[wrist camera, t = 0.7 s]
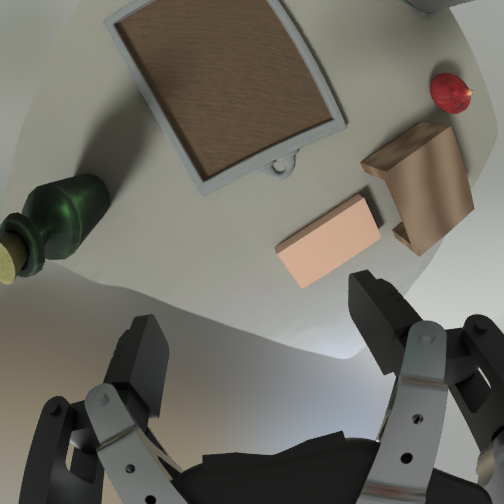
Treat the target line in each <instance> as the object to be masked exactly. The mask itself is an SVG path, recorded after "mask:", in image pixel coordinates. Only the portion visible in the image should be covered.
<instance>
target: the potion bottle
mask: <svg viewBox="0 0 504 504" xmlns="http://www.w3.org/2000/svg"><path fill="white" fill-rule="evenodd" d="M108 204H109V197H108V191H107V189H106V187H105V185H104V183H103V182H102V181H101V180H100V179H99V178H98V177H96V176H94V175H90V174H84V175H79V176H74V177H70V178H66V179H63V180H59V181H55V182H51V183H48V184H44V185H41V186H37V187H36V188H35V189H34V190H33V191H32V192H31V193H30V194H29V195H28V197H27V200H26V202H25V205H24V207H23V210H22V214H20V213H18V212H17V213H12V214H9V215H8V216H7V217H6V219H5V220H4V221H3V222H2V224H1V225H0V282H2V283H4V284H11V283H12V282H13V281H14V280H15V278H16V276H19V277H30V276H32V275H35V274H37V273H38V272H39V271H41V270H42V267H43V265H44V263H45V258H46V259H49V260H60V259H66V258H68V257H69V256H71V255H72V254H74V253H75V251H76V250H77V249H78V247H79V246H80V245H81V243H82V242H83V241H84V240H85V238H86V237H87V236H88V235H89V233H90V232H91V231H92V230H93V228H94V227H95V226H96V225H97V224H98V222H99V221H100V220H101V219H102V218H103V216H104V215H105V213H106V212H107V209H108Z"/></svg>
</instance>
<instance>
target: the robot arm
mask: <svg viewBox="0 0 504 504" xmlns="http://www.w3.org/2000/svg"><path fill="white" fill-rule="evenodd" d="M407 1H408V2H409V3H410V4H411V5H413V6H414V7H416V8H417V9H419V10H421V11H423V12H427V13H432V12H436V11H439V10H442V9H445V8H448V7H451V6H455V5H458V4H462V3H466V2H470V1H474V0H407ZM348 307H349V312H350V315H351V318H352V320H353V321H354V323H355V325H356V327H357V328H358V330H359V332H360V333H361V335H362V337H363V339H364V340H365V342H366V344H367V346H368V347H369V349H370V351H371V353H372V355H373V356H374V358H375V360H376V362H377V364H378V365H379V367H380V369H381V371H382V373H383V374H384V375H386V374H389V373H392V372H394V374H395V376H396V379H395V382H394V386H393V390H392V393H391V397H390V401H389V404H388V407H387V410H386V413H385V417H384V420H383V422H382V425H381V428H380V430H379V433H378V435H377V438H376V440H375V441H374V440H370V439H364V438H345V437H344V434H343V431H339V432H336V433H332V434H329V435H325V436H321V437H317V438H314V439H310V440H307V441H305V442H303V443H300V444H298V445H296V446H294V447H292V448H289V449H287V450H285V451H282V452H280V453H278V454H275V455H259V454H246V453H237V452H235V453H226V454H211V455H203V463H201V464H198V465H196V466H193V467H191V468H189V469H187V470H185V471H184V470H183V469H182V468H181V467H180V466H179V465H178V464H177V463H176V462H175V461H174V460H173V458H172V457H171V456H170V455H169V453H168V452H167V451H166V449H165V448H164V447H163V445H162V444H161V443H160V441H159V440H158V438H157V437H156V436H155V434H154V433H153V431H152V430H151V428H150V427H149V426H148V419H149V418H159V414H160V408H161V401H162V394H163V388H164V381H165V376H166V370H167V364H168V359H169V346H168V343H167V340H166V338H165V336H164V334H163V332H162V330H161V329H160V326H159V324H158V322H157V320H156V318H155V316H154V315H153V314H149V315H143V316H136V317H135V318H134V320H133V322H132V325H131V327H130V329H129V330H126V331H125V332H124V334H123V335H122V336H121V337H120V338H119V341H118V343H117V346H116V350H115V351H114V354H113V357H112V359H111V362H110V364H109V367H108V370H107V373H106V376H105V378H104V381H103V384H99V385H97V386H95V387H93V388H92V389H91V390H90V391H89V392H88V393H87V395H86V397H85V400H83V401H80V402H76V403H72V404H70V403H69V402H68V401H67V400H66V399H65V398H64V397H62V396H56V397H53V398H51V399H50V400H48V401H47V402H46V404H45V405H44V407H43V409H42V412H41V415H40V418H39V421H38V424H37V428H36V431H35V434H34V437H33V440H32V444H31V447H30V451H29V455H28V459H27V463H26V467H25V471H24V476H23V481H22V486H21V491H20V497H19V504H101V501H102V489H103V479H104V470H105V471H106V473H107V475H108V477H109V479H110V481H111V482H112V484H113V486H114V488H115V490H116V492H117V494H118V495H119V497H120V499H121V500H122V502H123V503H124V504H504V334H503V333H502V332H501V330H500V329H499V328H498V327H497V326H496V325H495V323H494V322H493V321H492V320H491V319H489V318H488V317H486V316H484V315H479V314H475V315H471V316H469V317H468V318H467V319H466V321H465V323H464V326H463V328H455V329H448V330H444V328H443V327H442V326H441V325H439V324H438V323H436V322H433V321H423V319H422V318H421V317H420V316H419V315H418V313H417V312H416V311H415V310H414V309H413V308H412V307H411V305H410V304H409V303H408V302H407V301H406V300H405V299H404V297H403V296H402V295H401V294H400V293H398V290H397V289H396V288H395V287H394V286H393V285H392V284H391V283H389V282H387V281H385V280H383V279H381V278H380V279H376V278H375V277H374V276H373V275H372V274H371V272H370V271H369V270H363V271H359V272H355V273H351V274H350V275H349V295H348ZM479 367H480V369H481V370H482V372H483V373H484V375H485V376H486V378H487V379H488V381H489V383H490V386H491V389H490V387H489V386H488V384H487V382H486V381H485V379H484V378H483V376H482V374H481V373H480V371H479V370H478V368H479ZM448 389H449V390H450V392H451V394H452V396H453V397H454V399H455V401H456V403H457V405H458V407H459V409H460V411H461V412H462V414H463V416H464V418H465V420H466V422H467V424H468V426H469V428H470V430H471V433H472V435H473V437H474V438H475V441H476V443H477V445H478V447H479V450H480V452H481V453H480V455H479V457H478V461H477V468H476V473H477V475H479V477H478V482H477V484H476V483H473V482H470V481H467V480H464V479H462V478H459V477H456V476H453V475H451V474H448V473H446V472H443V471H441V470H438V469H436V468H434V467H433V466H434V463H435V459H436V455H437V451H438V446H439V442H440V437H441V433H442V428H443V421H444V416H445V410H446V403H447V395H448ZM69 442H70V443H71V444H72V445H74V446H75V447H74V452H73V457H72V462H71V467H70V471H68V469H67V467H66V463H65V460H66V455H67V450H68V446H69Z"/></svg>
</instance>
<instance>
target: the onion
mask: <svg viewBox="0 0 504 504" xmlns="http://www.w3.org/2000/svg"><path fill="white" fill-rule="evenodd" d="M430 93H431V97H432V99H433V100H434V102H435V104H436V105H437V106H438V107H439V108H440V109H442V110H443V111H444V112H448V113H452V114H458V113H460V112H462V111H464V110H465V109H466V108H467V107H468V105H469V104H470V99H471V96H472V95H473V90H470V89H469V88H468V87H467V85H466V84H465V82H464V81H463V80H461V79H460V78H459V77H458V76H455V75H453V74H450V73H441V74H438V75H436V76H435V78H434V79H433V80H432V82H431V85H430Z"/></svg>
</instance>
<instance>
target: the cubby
mask: <svg viewBox="0 0 504 504" xmlns="http://www.w3.org/2000/svg"><path fill="white" fill-rule="evenodd" d="M361 165H362V167H363V169H364V171H365V172H367V173H369V174H371V175H374V176H376V177H379V178H381V179H384V180H385V182H386V184H387V186H388V188H389V191H390V193H391V195H392V197H393V200H394V202H395V204H396V207H397V209H398V212H399V214H400V217H401V219H402V222H403V223H401V224H400V225H399V226H397V227H396V228H395V229H393V230H392V231H393V233H394V235H395V238H397V239H398V240H399V241H401V242H402V243H403V244H404V245H406V246H407V247H408V248H409V249H410V250H412V251H413V252H414V253H415V254H417V255H418V256H421V255H422V254H423V253H424V252H426V251H427V250H428V249H429V248H431V247H432V246H433V245H434V244H435V243H437V242H438V241H439V240H440V239H441V238H442V237H444V236H445V235H446V234H447V233H448V232H449V231H450V230H452V229H453V228H454V227H455V226H456V225H457V224H458V223H459V222H461V221H462V220H463V219H464V218H465V217H466V216H467V215H468V214H469V213H470V212H471V211H473V210H474V204H473V200H472V195H471V190H470V186H469V182H468V178H467V174H466V170H465V167H464V163H463V160H462V156H461V153H460V150H459V147H458V144H457V141H456V138H455V135H454V132H453V129H452V127H451V125H444V124H435V123H426V122H420V123H419V124H417V125H416V126H414V127H413V128H411V129H410V130H408V131H407V132H405V133H404V134H402V135H401V136H399V137H398V138H396V139H395V140H393V141H392V142H390V143H389V144H387V145H386V146H384V147H383V148H381V149H380V150H378V151H377V152H375V153H374V154H373V155H371V156H370V157H368V158H367V159H365V160H364V161H362V162H361Z"/></svg>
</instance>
